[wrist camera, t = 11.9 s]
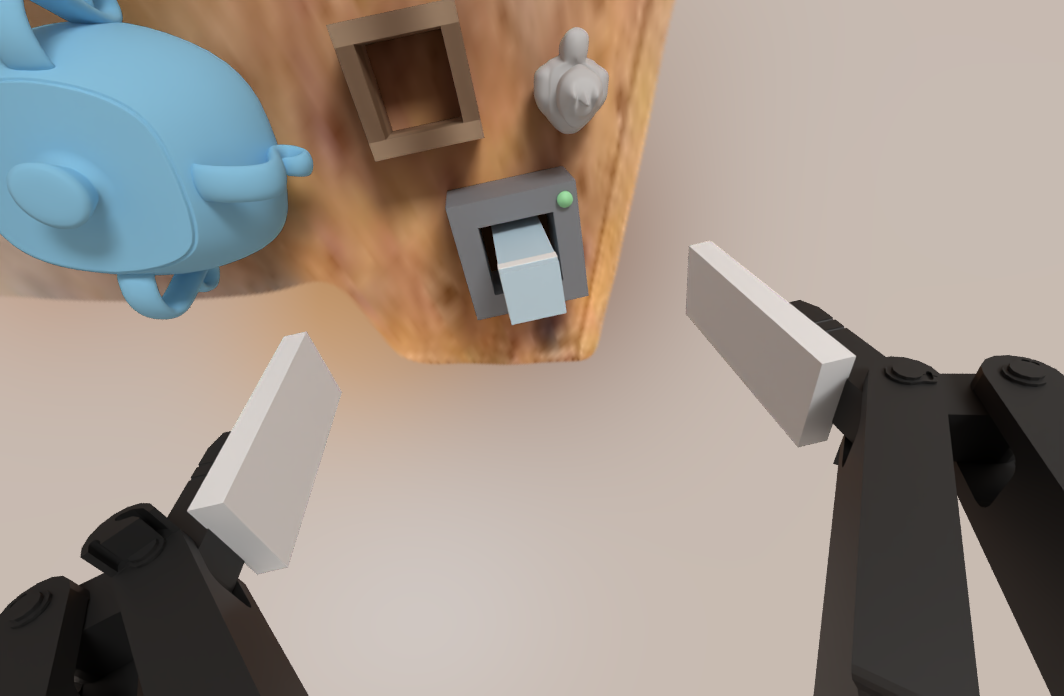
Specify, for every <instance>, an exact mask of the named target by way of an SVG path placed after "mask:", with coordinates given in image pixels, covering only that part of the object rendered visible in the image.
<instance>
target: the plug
mask: <svg viewBox="0 0 1064 696" xmlns="http://www.w3.org/2000/svg"><path fill="white" fill-rule="evenodd" d="M491 228H492V234H493V239H494V245H495V251H496V256H497V262H498V264H497V266H498V271H499V275H500V279H501V284H502V288H503V292H504V296H505V300H506V304H507V309H508V313H509V317H510V320H511V323H512V325H514V324H519V323H523V322H528V321H532V320H537V319H541V318H546V317H550V316H555V315H559V314H564V313H567V312H566V305H565V299H564V292H563V285H562V279H561V272H560V265H559V261H558V257H557V254H556V252H554V250H553V248H552V246H551V244H550V241H549V239H548V237H547V235H546V233H545V231H544V229H543V227H542V224H541V222H540V220H539V218H538V216H537V215H536V216H532V217H527V218H523V219H518V220H514V221H509V222H505V223H500V224H496V225H491Z"/></svg>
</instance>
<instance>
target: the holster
mask: <svg viewBox="0 0 1064 696" xmlns="http://www.w3.org/2000/svg"><path fill="white" fill-rule="evenodd" d="M326 26H327V29H328V32H329V35H330V37H331V40H332V43H333V46H334V48H335V51H336V54H337V57H338V60H339V62H340V65H341V68H342V71H343V73H344V76H345V79H346V82H347V85H348V87H349V90H350V93H351V96H352V98H353V101H354V104H355V107H356V110H357V112H358V115H359V118H360V121H361V123H362V126H363V129H364V132H365V134H366V137H367V140H368V143H369V146H370V148H371V151H372V154H373V157H374V159H375V162H376V161H380V160H385V159H389V158H394V157H399V156H403V155H408V154H412V153H417V152H421V151H426V150H431V149H435V148H440V147H444V146H449V145H454V144H458V143H463V142H467V141H472V140H477V139H481V138H484V134H483V129H482V124H481V120H480V115H479V111H478V106H477V101H476V97H475V92H474V88H473V83H472V79H471V74H470V69H469V65H468V60H467V56H466V51H465V46H464V42H463V37H462V33H461V28H460V24H459V19H458V14H457V10H456V5H455V1H454V0H441V1H436V2H432V3H427V4H422V5H418V6H413V7H408V8H404V9H399V10H394V11H390V12H385V13H380V14H376V15H371V16H366V17H362V18H357V19H352V20H348V21H343V22H338V23H333V24H329V25H326ZM437 29H441V30H442V34H443V38H444V43H445V47H446V51H447V55H448V59H449V64H450V68H451V72H452V76H453V80H454V84H455V89H456V93H457V97H458V101H459V105H460V110H461V114H462V116H461V117H457V118H452V119H447V120H443V121H438V122H434V123H429V124H424V125H420V126H415V127H411V128H406V129H401V130H397V131H392V128H391V125H390V122H389V118H388V115H387V112H386V109H385V106H384V103H383V100H382V97H381V94H380V91H379V88H378V85H377V82H376V79H375V76H374V73H373V69H372V66H371V63H370V60H369V57H368V54H367V51H366V48H365V45H367V44H372V43H376V42H381V41H386V40H390V39H395V38H400V37H404V36H409V35H414V34H418V33H423V32H428V31H432V30H437Z"/></svg>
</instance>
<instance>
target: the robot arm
mask: <svg viewBox="0 0 1064 696" xmlns="http://www.w3.org/2000/svg"><path fill="white" fill-rule="evenodd" d="M686 314H687V316H688V317H689V318H690V319H691V320H692V322H693V323H694V324H695V325H696V326H697V327H698V329H699V330H700V331H701V332H702V334H703V335H704V336H705V337H706V338H707V340H708V341H709V342H710V343H711V344H712V346H714V348H715V349H716V350H717V351H718V353H719V354H720V355H721V356H722V357H723V358H724V360H725V361H726V362H727V363H728V365H730V367H731V368H732V369H733V371H734V372H735V373H736V374H737V375H738V376H739V378H740V379H741V380H742V381H743V382H744V384H745V385H746V386H747V387H748V388H749V389H750V391H751V392H752V393H753V394H754V395H755V397H756V398H757V399H758V400H759V401H760V403H761V404H762V405H763V406H764V407H765V409H766V410H767V411H768V412H769V413H770V415H771V416H772V417H773V418H774V419H775V420H776V422H777V423H778V424H779V425H780V426H781V428H782V429H783V430H784V431H785V432H786V434H787V435H788V436H789V437H790V438H791V440H792V441H793V442H794V443H795V444H796V445H797V447H801V446H805V445H810V444H814V443H818V442H822V441H826V440H827V439H828V436H829V433H830V430H831V427H832V424H834V425H835V426H836V427H837V428H838V429H839V430H840V431H841V432H842V433H843V434H844V436H843V439H842V442H841V444H840V447H839V450H838V452H837V455H836V458H835V460H834V463H833V464H836V465H838V473H837V483H836V492H835V501H834V510H833V519H832V529H831V538H830V547H829V557H828V566H827V576H826V585H825V594H824V603H823V613H822V623H821V631H820V640H819V650H818V660H817V669H816V679H815V688H814V696H980V695H979V686H978V677H977V668H976V659H975V651H974V643H973V642H974V641H973V632H972V624H971V615H970V607H969V597H968V588H967V579H966V571H965V561H964V553H963V544H962V535H961V526H960V517H959V508H958V499H957V496H958V498H959V500H960V502H961V504H962V506H963V509H964V511H965V513H966V515H967V517H968V519H969V521H970V523H971V525H972V527H973V530H974V532H975V534H976V536H977V538H978V540H979V542H980V545H981V547H982V549H983V551H984V553H985V555H986V557H987V560H988V562H989V564H990V566H991V568H992V570H993V572H994V575H995V577H996V578H997V581H998V583H999V585H1000V587H1001V589H1002V591H1003V593H1004V596H1005V598H1006V600H1007V602H1008V604H1009V606H1010V608H1011V611H1012V613H1013V615H1014V617H1015V619H1016V621H1017V623H1018V626H1019V628H1020V630H1021V632H1022V634H1023V636H1024V638H1025V640H1026V643H1027V645H1028V647H1029V649H1030V651H1031V653H1032V655H1033V657H1034V660H1035V662H1036V664H1037V666H1038V668H1039V670H1040V672H1041V675H1042V676H1043V679H1044V681H1045V683H1046V685H1047V687H1048V689H1049V691H1050V694H1051V696H1064V375H1063V374H1061V373H1060V372H1059V371H1057V370H1056V369H1054V368H1052V367H1050V366H1048V365H1046V364H1044V363H1042V362H1039V361H1036V360H1032V359H1029V358H1025V357H1017V356H1010V355H1005V356H1004V355H1003V356H993V357H990V358H988V359H985V360H984V362H983V363H982V365H981V366H980V368H979V370H978V371H977V373H976V374H939V373H938V372H937V371H936V370H934V369H933V368H932V367H930V366H928V365H926V364H924V363H922V362H920V361H917V360H912V359H909V358H904V357H885V356H883V355H882V354H881V353H880V352H878V351H877V350H876V349H874V348H873V347H872V346H870V345H869V344H868V343H866V342H865V341H863V340H862V339H861V338H859V337H858V336H857V335H855V334H854V333H853V332H851V331H850V330H849V329H847V328H844V326H843V325H842V324H840V323H839V322H838V321H837V320H833V318H832V317H831V316H830V315H829V314H827V313H826V312H824V311H823V310H822V309H820V308H819V307H817V306H814V305H812V304H809V303H806V302H804V301H801V300H798V301H793V302H787V301H786V300H785V299H784V298H782V297H781V296H780V295H779V294H777V293H776V292H775V291H774V290H772V289H771V288H770V287H769V286H767V285H766V284H765V283H764V282H762V281H761V280H760V279H758V278H757V277H756V276H755V275H753V274H752V273H751V272H750V271H748V270H747V269H746V268H745V267H743V266H742V265H741V264H740V263H738V262H737V261H736V260H735V259H733V258H732V257H731V256H729V255H728V254H727V253H726V252H724V251H723V250H722V249H721V248H719V247H718V246H717V245H716V244H714V243H713V242H712V241H707V242H703V243H698V244H694V245H690V246H689V256H688V277H687V299H686ZM341 393H342V392H341V390H340V388H339V386H338V385H337V383H336V381H335V380H334V378H333V376H332V374H331V373H330V371H329V369H328V367H327V366H326V364H325V362H324V361H323V359H322V358H321V356H320V354H319V352H318V350H317V349H316V347H315V345H314V343H313V342H312V340H311V338H310V337H309V335H308V333H307V332H302V333H298V334H294V335H289V336H284V337H283V339H282V341H281V343H280V345H279V346H278V348H277V350H276V352H275V354H274V355H273V357H272V359H271V361H270V363H269V364H268V366H267V368H266V370H265V372H264V374H263V375H262V377H261V379H260V381H259V382H258V384H257V386H256V388H255V390H254V391H253V393H252V395H251V397H250V399H249V400H248V402H247V404H246V406H245V408H244V409H243V411H242V413H241V415H240V417H239V418H238V421H237V422H236V424H235V426H234V427H233V429H232V431H229V432H225V433H223V434H222V435H221V436H220V437H219V438H218V439H217V440H216V441H215V442H214V443H213V444H212V445H211V446H210V447H209V448H208V449H207V451H206V453H205V454H204V456H203V458H202V459H201V461H200V463H199V467H197V468H196V470H195V471H194V473H193V475H192V476H191V480H190V481H189V482H188V483H187V485H186V487H185V488H184V490H183V492H182V493H181V495H180V497H179V499H178V500H177V502H176V504H175V505H174V507H173V509H172V510H171V512H170V514H169V515H168V517H165V516H164V515H163V514H162V513H161V512H160V511H158V510H157V509H156V508H155V507H153V506H152V505H151V504H150V503H140V504H136V505H133V506H130V507H127V508H125V509H123V510H121V511H120V512H118V513H116V514H114V515H113V516H111V517H110V518H109V519H107V520H106V521H105V522H103V523H102V524H101V525H100V526H99V527H98V528H97V529H96V530H95V531H94V532H93V533H92V534H91V535H90V536H89V537H88V539H87V540H86V542H85V544H84V545H83V547H82V550H81V558H82V559H84V560H86V561H87V562H88V563H90V564H92V565H93V566H94V567H96V568H98V569H99V570H101V571H102V572H104V573H103V574H101V575H99V576H97V577H95V578H93V579H91V580H89V581H87V582H85V583H82V584H80V585H77V584H76V583H74V582H73V581H71V580H69V579H68V578H66V577H64V576H59V577H51V578H49V579H47V580H44V581H42V582H40V583H37V584H36V585H35V586H33V587H31V588H30V589H28V590H27V591H25V592H23V593H22V594H21V595H19V596H18V597H17V598H16V599H14V600H13V601H12V602H11V603H10V604H9V605H8V606H7V607H6V608H5V609H4V611H3V612H2V613H1V614H0V696H308V694H307V692H306V690H305V688H304V687H303V685H302V683H301V681H300V680H299V678H298V676H297V674H296V673H295V671H294V669H293V667H292V666H291V664H290V662H289V660H288V659H287V657H286V655H285V654H284V652H283V650H282V648H281V646H280V644H279V643H278V641H277V639H276V637H275V636H274V634H273V632H272V630H271V629H270V627H269V625H268V623H267V622H266V620H265V618H264V616H263V615H262V613H261V611H260V609H259V607H258V606H257V604H256V602H255V600H254V599H253V597H252V595H251V593H250V592H249V590H248V588H247V587H246V585H245V584H244V583H243V582H242V581H241V580H240V579H238V577H239V574H240V572H241V569H242V566H243V564H244V563H245V564H246V565H247V566H249V567H250V568H251V569H252V570H253V571H254V572H255V573H256V574H262V573H266V572H270V571H275V570H279V569H283V568H287V567H288V565H289V562H290V559H291V556H292V552H293V549H294V546H295V542H296V539H297V536H298V533H299V529H300V526H301V523H302V520H303V517H304V513H305V510H306V507H307V504H308V500H309V497H310V494H311V491H312V487H313V484H314V481H315V478H316V474H317V471H318V468H319V465H320V461H321V458H322V455H323V451H324V448H325V445H326V442H327V438H328V435H329V432H330V428H331V425H332V422H333V419H334V416H335V412H336V409H337V406H338V402H339V399H340V396H341Z"/></svg>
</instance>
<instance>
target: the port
mask: <svg viewBox="0 0 1064 696" xmlns="http://www.w3.org/2000/svg"><path fill="white" fill-rule="evenodd" d="M445 209H446V212H447V216H448V219H449V223H450V226H451V229H452V233H453V236H454V240H455V243H456V247H457V250H458V254H459V257H460V260H461V264H462V267H463V271H464V274H465V278H466V281H467V285H468V288H469V291H470V295H471V298H472V302H473V305H474V309H475V312H476V316H477V319H478V320H481V319H486V318H490V317H495V316H499V315H504V314H508V309H507V304H506V300H505V296H504V292H503V288H502V284H501V279H500V275H499V271H498V270H496V271H491V267H490V263H489V259H488V255H487V251H486V247H485V243H484V239H483V235H482V231H481V228H482V227H487V226H491V225H496V224H500V223H505V222H509V221H514V220H518V219H523V218H527V217H532V216H536V215H541V214H545V213H546V215H547V221H548V228H549V234H550V240H551V246H552V248H553V250H554V252H556V254H557V257H558V261H559V265H560V272H561V279H562V285H563V292H564V299H565V301H567V300H571V299H576V298H580V297H584V296H588V287H587V278H586V269H585V261H584V252H583V243H582V234H581V226H580V217H579V208H578V199H577V190H576V182H575V179H574V178H573V177H572V176H571V175H570V174H569V172H568V171H567V170H566V169H565V168H564V167H563V166H559V167H555V168H550V169H546V170H541V171H536V172H532V173H527V174H523V175H518V176H514V177H509V178H505V179H500V180H495V181H491V182H486V183H482V184H477V185H473V186H468V187H464V188H459V189H454V190H450V191H447V197H446V208H445Z"/></svg>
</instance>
